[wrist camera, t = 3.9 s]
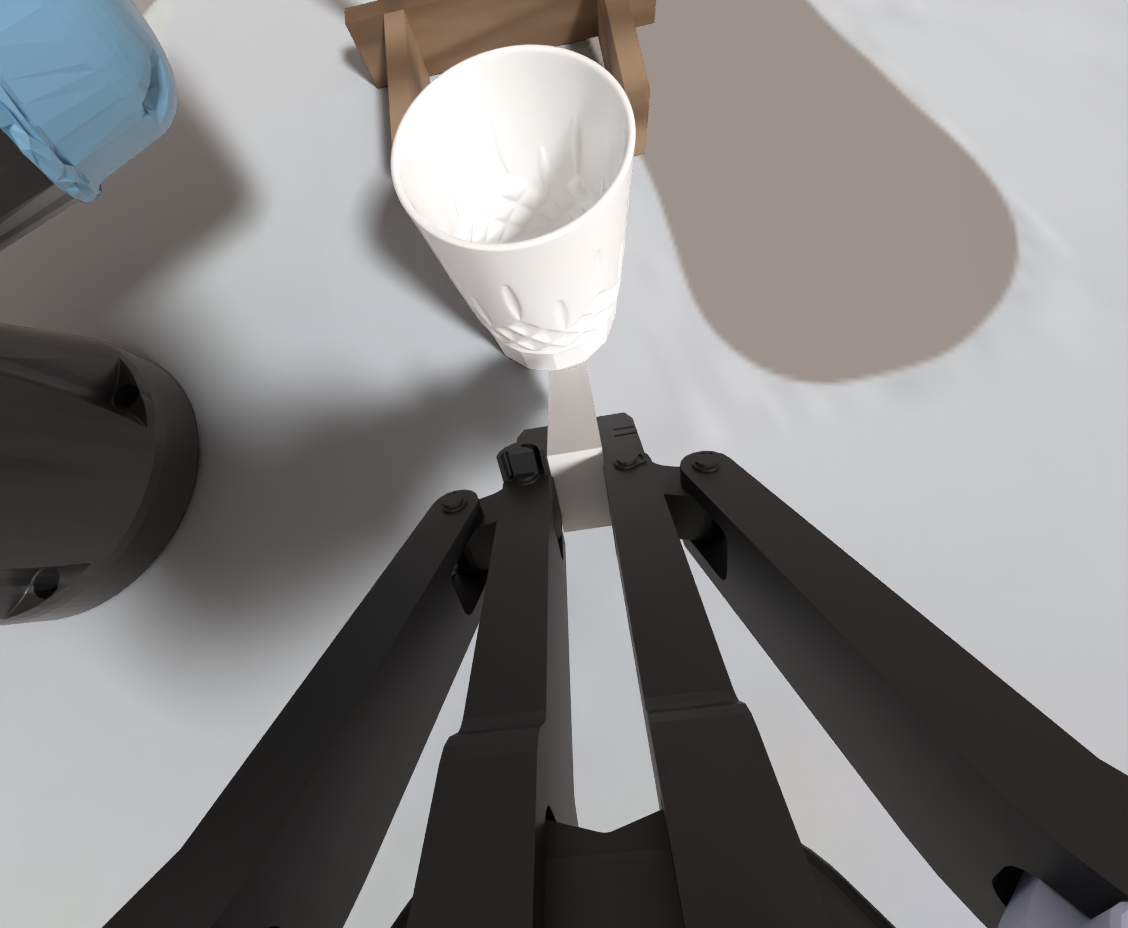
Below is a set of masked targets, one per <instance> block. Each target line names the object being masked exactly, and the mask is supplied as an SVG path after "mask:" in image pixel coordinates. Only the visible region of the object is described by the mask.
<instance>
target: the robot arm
mask: <svg viewBox="0 0 1128 928" xmlns="http://www.w3.org/2000/svg"><path fill="white" fill-rule="evenodd" d="M177 102H178V99H177V87H176V82H175V78H174V74H173V71H172V68H171V66H170V63H169V61H168V59H167V57H166V55H165V52H164V50H163V48H162V47H161V45H160V43H159V41H158V39H157V37H156V36H155V34H154V33H153V31H152V29H151V28H150V26H149V25H148V23H147V21H146V20H145V18H144V17H143V15H142V14H141V12H140V11H139V9H138V8H137V6H136V5H135V3H134V2H133V1H132V0H0V251H1V250H3V249H4V248H6V247H7V246H9V245H10V244H12V243H14V242H15V241H17V240H18V239H20V238H21V237H23V236H25V235H26V234H28V233H29V232H31V231H32V230H34V229H35V228H37V227H39V226H40V225H42V224H43V223H45V222H46V221H48V220H50V219H51V218H53V217H54V216H56V215H57V214H59V213H61V212H62V211H64V210H65V209H67V208H68V207H70V206H71V205H73V204H75V203H76V202H78V201H81V202H84V203H90V202H91V201H93V200H95V199H96V198H97V197H98V196H99V194H100V193H101V183H102V182H103V181H104V180H106V179H107V178H108V177H109V176H110V175H111V174H113V173H114V172H115V171H117V170H118V169H119V168H121V167H122V166H123V165H125V164H126V163H127V162H129V161H130V160H131V159H132V158H134V157H135V156H136V155H138V154H139V153H140V152H142V151H143V150H144V149H146V148H147V147H148V146H150V145H151V144H152V143H153V142H155V141H156V140H157V139H159V138H160V137H161V136H163V135H164V134H165V133H166V132H167V131H168V129H169V128H170V126H171V124H172V123H173V120H174V117H175V114H176V110H177ZM496 458H497V461H498V464H499V468H500V471H501V474H502V478H503V481H504V483H503V489H502V490H500V491H498V492H497V493H494V494H492V495H490V496H487V497H484V498H481V499H478V497H477V494H476V493H474V492H473V491H470V490H458V491H453V492H450V493H447V494H446V495H444V496H442V497H441V498H439V499H438V500H437V501H436V502H435V503H434V504H433V505H432V506H431V508H430V509H429V510H428V512H427V513H426V515H425V516H424V517H423V519H422V520H421V521H420V523H419V524H418V525H417V527H416V528H415V530H414V531H413V532H412V534H411V535H410V536H409V538H408V539H407V540H406V542H405V543H404V545H403V546H402V547H401V549H400V550H399V551H398V553H397V554H396V556H395V557H394V558H393V560H392V561H391V562H390V564H389V565H388V566H387V568H386V569H385V571H384V572H383V573H382V575H381V576H380V577H379V579H378V580H377V581H376V583H375V584H374V586H373V587H372V588H371V590H370V591H369V592H368V594H367V595H366V597H365V598H364V599H363V601H362V602H361V603H360V605H359V606H358V607H357V609H356V610H355V612H354V613H353V614H352V616H351V617H350V618H349V620H348V621H347V622H346V624H345V625H344V627H343V628H342V629H341V631H340V632H339V633H338V635H337V636H336V638H335V639H334V640H333V642H332V643H331V644H330V646H329V647H328V648H327V650H326V651H325V653H324V654H323V655H322V657H321V658H320V659H319V661H318V662H317V663H316V665H315V666H314V668H313V669H312V670H311V672H310V673H309V674H308V676H307V677H306V678H305V680H304V681H303V683H302V684H301V685H300V687H299V688H298V689H297V691H296V692H295V694H294V695H293V696H292V698H291V699H290V700H289V702H288V703H287V704H286V706H285V707H284V709H283V710H282V711H281V713H280V714H279V715H278V717H277V718H276V719H275V721H274V722H273V724H272V725H271V726H270V728H269V729H268V730H267V732H266V733H265V735H264V736H263V737H262V739H261V740H260V741H259V743H258V744H257V745H256V747H255V748H254V750H253V751H252V752H251V754H250V755H249V756H248V758H247V759H246V760H245V762H244V763H243V765H242V766H241V767H240V769H239V770H238V771H237V773H236V774H235V776H234V777H233V778H232V780H231V781H230V782H229V784H228V785H227V786H226V788H225V789H224V791H223V792H222V793H221V795H220V796H219V797H218V799H217V800H216V801H215V803H214V804H213V806H212V807H211V808H210V810H209V811H208V812H207V814H206V815H205V817H204V818H203V819H202V821H201V822H200V823H199V825H198V826H197V827H196V829H195V830H194V832H193V833H192V834H191V836H190V837H189V838H188V840H187V841H186V842H185V844H184V845H183V847H182V848H181V849H180V850H179V851H178V852H177V853H176V854H175V855H174V856H173V857H172V858H171V859H170V860H169V861H168V862H167V863H166V864H165V865H164V866H163V867H162V868H161V869H160V870H159V871H158V872H157V873H156V874H155V875H154V876H153V877H152V878H151V879H150V880H149V881H148V882H147V883H146V884H145V885H144V886H143V887H142V888H141V889H140V890H139V891H138V892H137V893H136V894H135V895H134V896H133V897H132V898H131V899H130V900H129V901H128V902H127V903H126V904H125V905H124V906H123V907H122V908H121V909H120V910H119V911H118V912H117V913H116V914H115V915H114V916H113V917H112V918H111V919H110V920H109V921H108V922H107V923H106V924H105V925H104V926H103V927H102V928H343V926H344V924H345V922H346V920H347V918H348V916H349V914H350V912H351V910H352V908H353V906H354V904H355V901H356V899H357V897H358V895H359V893H360V891H361V889H362V887H363V885H364V883H365V880H366V878H367V876H368V874H369V871H370V869H371V867H372V865H373V862H374V860H375V858H376V855H377V853H378V851H379V849H380V846H381V844H382V842H383V840H384V837H385V835H386V833H387V830H388V828H389V826H390V824H391V821H392V819H393V817H394V815H395V812H396V810H397V808H398V805H399V803H400V801H401V799H402V796H403V794H404V792H405V790H406V787H407V785H408V783H409V780H410V778H411V776H412V774H413V771H414V769H415V767H416V765H417V762H418V760H419V758H420V755H421V753H422V751H423V749H424V746H425V744H426V742H427V740H428V737H429V735H430V733H431V730H432V728H433V726H434V724H435V721H436V719H437V717H438V715H439V712H440V710H441V708H442V705H443V703H444V701H445V699H446V696H447V694H448V692H449V690H450V687H451V685H452V683H453V680H454V678H455V676H456V674H457V671H458V669H459V667H460V665H461V662H462V660H463V658H464V655H465V653H466V651H467V649H468V646H469V644H470V642H471V640H472V637H473V635H474V633H475V630H476V628H477V626H478V624H479V628H478V634H477V640H476V646H475V652H474V658H473V663H472V669H471V675H470V681H469V687H468V693H467V698H466V704H465V710H464V716H463V721H462V725H461V728H460V730H459V732H458V733H456V734H454V735H452V736H450V737H449V738H448V740H447V742H446V744H445V746H444V748H443V752H442V756H441V759H440V763H439V768H438V773H437V778H436V783H435V788H434V793H433V798H432V803H431V808H430V813H429V818H428V823H427V828H426V833H425V838H424V843H423V848H422V853H421V858H420V863H419V868H418V873H417V878H416V883H415V888H414V893H413V897H412V898H411V899H410V901H409V902H408V903H407V905H406V906H405V908H404V909H403V910H402V912H401V913H400V915H399V916H398V918H397V919H396V920H395V922H394V923H393V925H392V926H391V928H896V927H895V926H894V925H893V924H891V923H890V922H889V921H888V920H887V919H886V918H885V917H884V916H883V915H882V914H881V913H880V912H879V911H878V910H877V909H876V908H875V907H874V906H873V905H872V904H871V903H870V902H869V901H868V900H867V899H866V898H865V897H864V896H863V895H862V894H861V893H860V892H858V891H857V890H856V889H855V888H854V887H853V886H852V885H851V884H850V883H849V882H848V881H847V880H846V879H845V878H844V877H843V876H842V875H841V874H840V873H839V872H838V871H836V870H835V869H834V868H833V867H832V866H831V865H830V864H829V863H827V862H826V861H825V860H824V859H822V858H821V857H820V856H819V855H817V854H816V853H815V852H813V851H812V850H811V849H809V848H808V847H806V846H805V845H803V844H802V843H801V842H800V839H799V837H798V834H797V831H796V829H795V826H794V823H793V821H792V818H791V816H790V813H789V810H788V808H787V805H786V802H785V800H784V797H783V794H782V792H781V789H780V786H779V784H778V781H777V778H776V776H775V773H774V770H773V768H772V765H771V762H770V760H769V757H768V755H767V752H766V749H765V747H764V744H763V741H762V739H761V736H760V733H759V731H758V728H757V726H756V723H755V721H754V719H753V716H752V714H751V712H750V710H749V709H748V707H747V706H746V704H745V703H743V702H741V701H739V700H738V698H737V697H736V694H735V692H734V690H733V687H732V684H731V681H730V679H729V676H728V673H727V670H726V667H725V665H724V662H723V659H722V656H721V653H720V651H719V648H718V645H717V642H716V640H715V637H714V634H713V631H712V628H711V626H710V623H709V620H708V617H707V614H706V612H705V609H704V606H703V603H702V600H701V598H700V595H699V592H698V589H697V586H696V584H695V581H694V578H693V575H692V572H691V570H690V567H689V564H688V561H687V558H686V556H685V553H684V550H683V547H682V545H681V542H680V539H683V542H684V545H685V547H686V548H687V549H688V551H689V552H690V553H691V555H692V556H693V557H694V559H695V560H696V561H697V563H698V564H699V565H700V566H701V568H702V569H703V570H704V572H705V573H706V574H707V576H708V577H709V578H710V580H711V581H712V582H713V584H714V585H715V586H716V587H717V589H718V590H719V591H720V593H721V594H722V595H723V597H724V598H725V599H726V601H727V602H728V603H729V605H730V606H731V607H732V609H733V610H734V611H735V612H736V614H737V615H738V616H739V618H740V619H741V620H742V622H743V623H744V624H745V626H746V627H747V628H748V630H749V631H750V632H751V633H752V635H753V636H754V637H755V639H756V640H757V641H758V643H759V644H760V645H761V647H762V648H763V649H764V651H765V652H766V653H767V654H768V656H769V657H770V658H771V660H772V661H773V662H774V664H775V665H776V666H777V668H778V669H779V670H780V672H781V673H782V674H783V676H784V677H785V678H786V679H787V681H788V682H789V683H790V685H791V686H792V687H793V689H794V690H795V691H796V693H797V694H798V695H799V697H800V698H801V699H802V700H803V702H804V703H805V704H806V706H807V707H808V708H809V710H810V711H811V712H812V714H813V715H814V716H815V718H816V719H817V720H818V721H819V723H820V724H821V725H822V727H823V728H824V729H825V731H826V732H827V733H828V735H829V736H830V737H831V739H832V740H833V741H834V743H835V744H836V745H837V746H838V748H839V749H840V750H841V752H842V753H843V754H844V756H845V757H846V758H847V760H848V761H849V762H850V764H851V765H852V766H853V767H854V769H855V770H856V771H857V773H858V774H859V775H860V777H861V778H862V779H863V781H864V782H865V783H866V785H867V786H868V787H869V788H870V790H871V791H872V792H873V794H874V795H875V796H876V798H877V799H878V800H879V802H880V803H881V804H882V806H883V807H884V808H885V810H886V811H887V812H888V813H889V815H890V816H891V817H892V819H893V820H894V821H895V823H896V824H897V825H898V827H899V828H900V829H901V831H902V832H903V833H904V834H905V836H906V837H907V838H908V839H909V841H910V842H911V843H912V844H913V845H914V847H915V848H916V849H917V850H918V852H919V853H920V854H921V855H922V856H923V858H924V859H925V860H926V861H927V863H928V864H929V865H930V866H931V867H932V869H933V870H934V871H935V872H936V874H937V875H938V876H939V877H940V878H941V879H942V880H943V881H944V883H945V884H946V885H947V886H948V887H949V888H950V889H951V890H952V891H953V892H954V893H955V894H956V895H957V896H958V898H959V899H960V900H961V901H962V902H963V903H964V904H965V905H966V906H967V907H968V908H969V909H970V910H971V911H972V913H973V914H974V915H975V916H976V917H977V918H978V919H979V920H980V921H981V922H982V923H983V924H984V925H985V926H986V927H987V928H1128V775H1126V774H1124V773H1122V772H1121V771H1119V770H1117V769H1116V768H1114V767H1112V766H1110V765H1109V764H1107V763H1105V762H1103V761H1102V760H1100V759H1099V758H1097V757H1096V756H1095V755H1094V754H1092V753H1091V752H1090V751H1089V750H1087V749H1086V748H1085V747H1084V746H1083V745H1081V744H1080V743H1079V742H1078V741H1076V740H1075V739H1074V738H1073V737H1072V736H1070V735H1069V734H1068V733H1067V732H1065V731H1064V730H1063V729H1062V728H1060V727H1059V726H1058V725H1057V724H1056V723H1054V722H1053V721H1052V720H1051V719H1049V718H1048V717H1047V716H1046V715H1045V714H1043V713H1042V712H1041V711H1040V710H1038V709H1037V708H1036V707H1035V706H1033V705H1032V704H1031V703H1030V702H1029V701H1027V700H1026V699H1025V698H1024V697H1022V696H1021V695H1020V694H1019V693H1018V692H1016V691H1015V690H1014V689H1013V688H1011V687H1010V686H1009V685H1008V684H1006V683H1005V682H1004V681H1003V680H1002V679H1000V678H999V677H998V676H997V675H995V674H994V673H993V672H992V671H991V670H989V669H988V668H987V667H986V666H984V665H983V664H982V663H981V662H979V661H978V660H977V659H976V658H975V657H973V656H972V655H971V654H970V653H968V652H967V651H966V650H965V649H964V648H962V647H961V646H960V645H959V644H957V643H956V642H955V641H954V640H952V639H951V638H950V637H949V636H948V635H946V634H945V633H944V632H943V631H941V630H940V629H939V628H938V627H937V626H935V625H934V624H933V623H932V622H930V621H929V620H928V619H927V618H925V617H924V616H923V615H922V614H921V613H919V612H918V611H917V610H916V609H914V608H913V607H912V606H911V605H910V604H908V603H907V602H906V601H905V600H903V599H902V598H901V597H900V596H898V595H897V594H896V593H895V592H894V591H892V590H891V589H890V588H889V587H887V586H886V585H885V584H884V583H883V582H881V581H880V580H879V579H878V578H876V577H875V576H874V575H873V574H871V573H870V572H869V571H868V570H867V569H865V568H864V567H863V566H862V565H860V564H859V563H858V562H857V561H856V560H854V559H853V558H852V557H851V556H849V555H848V554H847V553H846V552H844V551H843V550H842V549H841V548H840V547H838V546H837V545H836V544H835V543H833V542H832V541H831V540H830V539H829V538H827V537H826V536H825V535H824V534H822V533H821V532H820V531H819V530H817V529H816V528H815V527H814V526H813V525H811V524H810V523H809V522H808V521H806V520H805V519H804V518H803V517H802V516H800V515H799V514H798V513H797V512H795V511H794V510H793V509H792V508H790V507H789V506H788V505H787V504H786V503H784V502H783V501H782V500H781V499H779V498H778V497H777V496H776V495H775V494H773V493H772V492H771V491H770V490H768V489H767V488H766V487H765V486H763V485H762V484H761V483H760V482H759V481H757V480H756V479H755V478H754V477H752V476H751V475H750V474H749V473H748V472H746V471H745V470H744V469H743V468H741V467H740V466H739V465H738V464H736V463H735V462H734V461H733V460H732V459H730V458H729V457H727V456H726V455H724V454H722V453H717V452H713V451H701V452H695V453H692V454H690V455H687V456H686V457H684V458H683V459H682V460H681V464H680V467H672V466H662V465H659V464H655V463H653V462H652V461H651V458H650V457H649V456H648V454H646V453H644V450H643V447H642V444H641V441H640V438H639V436H638V433H637V430H636V427H635V424H634V421H633V418H631V417H630V416H629V415H627V414H626V413H618V414H612V415H606V416H600V417H596V413H595V408H594V403H593V397H592V392H591V387H590V381H589V376H588V370H587V365H585V366H580V367H574V368H568V369H562V370H556V371H551V372H549V402H548V426H545V427H539V428H533V429H527V430H524V431H523V432H522V433H521V434H520V436H519V437H518V438H517V443H514V444H511V445H509V446H507V447H505V448H504V449H502V450H501V451H500V452H499V453H498V455H497V457H496ZM197 463H198V434H197V428H196V422H195V418H194V414H193V411H192V408H191V406H190V404H189V401H188V399H187V397H186V395H185V394H184V392H183V390H182V389H181V387H180V386H179V385H178V384H177V382H176V381H175V380H174V379H173V378H172V377H171V376H170V375H169V374H168V373H167V372H166V371H164V370H163V369H162V368H160V367H159V366H157V365H156V364H154V363H152V362H150V361H148V360H146V359H143V358H141V357H139V356H136V355H134V354H132V353H129V352H127V351H125V350H122V349H120V348H118V347H115V346H113V345H110V344H108V343H105V342H102V341H98V340H95V339H91V338H87V337H82V336H76V335H70V334H64V333H58V332H52V331H46V330H39V329H33V328H27V327H21V326H15V325H9V324H2V323H0V625H9V624H19V623H29V622H38V621H48V620H55V619H61V618H66V617H70V616H73V615H77V614H80V613H82V612H85V611H87V610H90V609H92V608H94V607H96V606H98V605H100V604H102V603H104V602H105V601H107V600H109V599H110V598H112V597H114V596H115V595H117V594H118V593H119V592H121V591H122V590H123V589H125V588H126V587H127V586H129V585H130V584H131V583H132V582H133V581H134V580H136V579H137V578H138V577H139V576H140V575H141V574H142V573H143V572H144V571H145V570H146V569H147V568H148V567H149V566H150V565H151V563H152V562H153V561H154V560H155V559H156V557H157V556H158V555H159V554H160V552H161V551H162V550H163V548H164V547H165V546H166V544H167V543H168V541H169V539H170V538H171V536H172V535H173V533H174V531H175V529H176V528H177V526H178V524H179V522H180V520H181V518H182V516H183V514H184V511H185V509H186V506H187V504H188V501H189V498H190V495H191V492H192V489H193V485H194V481H195V476H196V470H197ZM562 525H563V529H564V532H569V531H576V530H583V529H590V528H597V527H604V526H610V525H612V528H613V534H614V541H615V548H616V555H617V558H618V564H619V570H620V576H621V582H622V588H623V594H624V600H625V606H626V612H627V618H628V623H629V629H630V635H631V641H632V647H633V653H634V659H635V665H636V671H637V677H638V683H639V689H640V694H641V700H642V706H643V712H644V718H645V724H646V730H647V736H648V742H649V748H650V754H651V760H652V766H653V771H654V777H655V783H656V789H657V796H658V802H659V808H660V811H657V812H655V813H653V814H651V815H648V816H646V817H644V818H642V819H639V820H637V821H635V822H632V823H630V824H628V825H626V826H623V827H621V828H619V829H617V830H614V831H612V832H608V833H601V832H596V831H592V830H588V829H584V828H580V827H578V821H577V814H576V808H575V799H574V783H573V754H572V726H571V697H570V668H569V639H568V610H567V582H566V553H565V541H564V536H563V532H562ZM479 621H480V623H479Z"/></svg>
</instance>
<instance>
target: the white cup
mask: <svg viewBox="0 0 1128 928" xmlns="http://www.w3.org/2000/svg"><path fill="white" fill-rule="evenodd" d="M635 138H636V128H635V119H634V114H633V110H632V107H631V104H630V101H629V99H628V97H627V95H626V93H625V91H624V90H623V88H622V87H621V85H620V84H619V83H618V81H617V80H616V79H615V78H614V77H613V76H612V75H611V74H610V73H609V72H608V71H607V70H606V69H605V68H603V67H602V66H601V65H599V64H598V63H596V62H595V61H593V60H591V59H590V58H588V57H586V56H584V55H581V54H579V53H576V52H574V51H571V50H567V49H564V48H559V47H554V46H548V45H514V46H507V47H502V48H497V49H493V50H490V51H486V52H483V53H480V54H478V55H475V56H473V57H470V58H468V59H466V60H464V61H462V62H460V63H458V64H456V65H454V66H453V67H451V68H449V69H448V70H446V71H445V72H443V73H442V74H441V75H439V76H438V77H437V78H435V79H434V80H433V81H432V82H431V83H430V84H429V85H427V86H426V87H425V88H424V89H423V90H422V91H421V93H420V94H419V95H418V96H417V97H416V98H415V100H414V101H413V102H412V103H411V105H410V106H409V108H408V109H407V111H406V113H405V114H404V116H403V118H402V120H401V122H400V124H399V126H398V129H397V131H396V134H395V137H394V141H393V145H392V151H391V175H392V181H393V185H394V188H395V191H396V194H397V196H398V198H399V200H400V202H401V204H402V206H403V207H404V209H405V210H406V212H407V213H408V215H409V216H410V218H411V219H412V221H413V222H414V224H415V225H416V227H417V228H418V230H419V231H420V233H421V234H422V236H423V238H424V239H425V241H426V242H427V244H428V245H429V247H430V248H431V249H432V251H433V252H434V254H435V255H436V257H437V258H438V260H439V261H440V263H441V264H442V266H443V268H444V269H445V271H446V272H447V274H448V275H449V277H450V279H451V280H452V282H453V284H454V285H455V287H456V288H457V290H458V291H459V292H460V294H461V295H462V296H463V297H464V299H465V300H466V302H467V304H468V305H469V307H470V308H471V309H472V311H473V312H474V313H475V315H476V316H477V317H478V319H479V321H480V322H481V323H482V324H483V325H484V326H485V327H486V328H487V329H488V330H489V331H490V332H491V334H492V335H493V336H494V338H495V340H496V341H497V343H498V344H499V346H500V347H501V349H502V350H503V352H504V354H505V355H506V356H507V357H509V358H511V359H513V360H515V361H516V362H518V363H520V364H522V365H523V366H525V367H527V368H529V369H537V370H551V371H556V370H562V369H565V368H568V367H570V366H573V365H576V364H579V363H581V362H584V361H586V360H587V359H588V358H589V357H590V356H591V355H592V354H593V353H594V352H595V351H596V350H597V349H598V348H599V347H600V346H602V345H603V344H604V343H605V342H606V340H607V337H608V334H609V332H610V329H611V326H612V323H613V321H614V318H615V315H616V303H617V295H618V291H619V286H620V280H621V272H622V263H623V256H624V249H625V239H626V228H627V218H628V207H629V197H630V187H631V177H632V168H633V158H634V149H635Z"/></svg>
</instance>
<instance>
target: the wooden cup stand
mask: <svg viewBox="0 0 1128 928" xmlns="http://www.w3.org/2000/svg"><path fill="white" fill-rule="evenodd" d="M655 5H656V0H377V1H373V2H369V3H366V4H362V5H358V6H354V7H350V8H346V9H345V24H346V26H347V28H348V30H349V32H350V34H351V36H352V38H353V40H354V42H355V44H356V46H357V48H358V50H359V52H360V54H361V56H362V58H363V60H364V62H365V64H366V66H367V68H368V70H369V72H370V74H371V76H372V78H373V80H374V82H375V84H376V86H377V88H381V87H385V86H388V94H389V110H390V126H391V143H392V145H393V141H394V137H395V134H396V131H397V129H398V126H399V124H400V122H401V120H402V118H403V116H404V114H405V113H406V111H407V109H408V108H409V106H410V105H411V103H412V102H413V101H414V100H415V98H416V97H417V96H418V95H419V94H420V93H421V91H422V90H423V89H424V88H425V87H426V86H427V85H429V84H430V80H429V76H432V75H436V74H440V73H443V72H445V71H446V70H448V69H449V68H451V67H453V66H454V65H456V64H458V63H460V62H462V61H464V60H466V59H468V58H470V57H473V56H475V55H478V54H480V53H483V52H486V51H490V50H493V49H497V48H502V47H507V46H514V45H548V46H558V45H562V44H567V43H571V42H575V41H579V40H584V39H588V38H592V37H595V36H598V37H599V42H600V46H601V51H602V56H603V61H604V65H605V69H606V70H607V71H608V72H609V73H610V74H611V75H612V76H613V77H614V78H615V79H616V80H617V81H618V83H619V84H620V85H621V87H622V88H623V90H624V91H625V93H626V95H627V97H628V99H629V101H630V104H631V107H632V110H633V114H634V119H635V128H636V138H635V149H634V156H635V155H640V154H645V148H646V135H647V122H648V110H649V109H648V108H649V97H650V87H649V83H648V78H647V75H646V70H645V66H644V62H643V58H642V54H641V49H640V45H639V41H638V37H637V33H636V29H635V27H638V26H643V25H647V24H651V23H654V17H655Z"/></svg>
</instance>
